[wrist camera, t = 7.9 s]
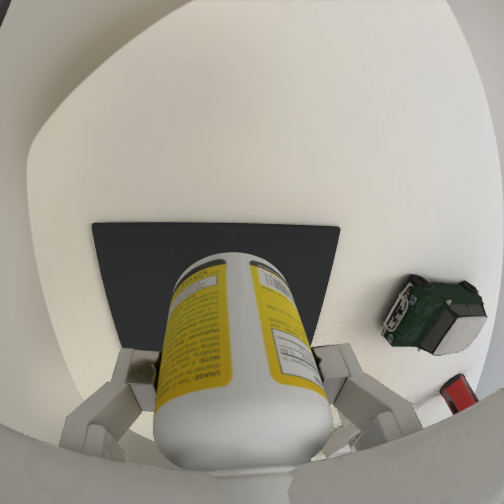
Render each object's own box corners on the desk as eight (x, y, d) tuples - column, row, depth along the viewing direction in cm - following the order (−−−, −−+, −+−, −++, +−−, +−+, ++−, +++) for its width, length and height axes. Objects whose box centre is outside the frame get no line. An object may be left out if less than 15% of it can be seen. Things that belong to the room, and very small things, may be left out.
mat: (128, 360, 34) (128, 364, 33) (93, 222, 24) (91, 225, 23) (303, 361, 36) (304, 364, 36) (338, 226, 27) (340, 228, 26)
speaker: (445, 380, 49) (477, 435, 34) (467, 368, 50) (498, 420, 34) (435, 396, 53) (462, 448, 38) (456, 385, 53) (483, 434, 38)
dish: (304, 444, 53) (308, 461, 49) (387, 399, 47) (396, 417, 43) (346, 452, 62) (350, 465, 58) (412, 415, 57) (419, 429, 52)
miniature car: (399, 271, 31) (434, 313, 24) (474, 281, 34) (503, 311, 27) (370, 327, 35) (394, 371, 28) (448, 325, 38) (471, 357, 31)
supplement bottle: (173, 336, 14) (158, 527, 5) (174, 241, 11) (121, 509, 3) (276, 342, 15) (315, 522, 6) (302, 254, 12) (403, 484, 4)
